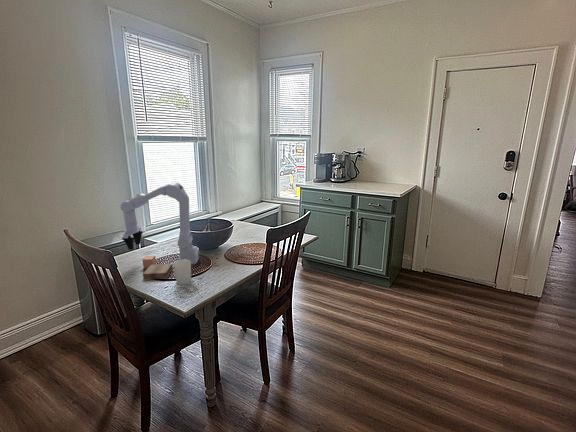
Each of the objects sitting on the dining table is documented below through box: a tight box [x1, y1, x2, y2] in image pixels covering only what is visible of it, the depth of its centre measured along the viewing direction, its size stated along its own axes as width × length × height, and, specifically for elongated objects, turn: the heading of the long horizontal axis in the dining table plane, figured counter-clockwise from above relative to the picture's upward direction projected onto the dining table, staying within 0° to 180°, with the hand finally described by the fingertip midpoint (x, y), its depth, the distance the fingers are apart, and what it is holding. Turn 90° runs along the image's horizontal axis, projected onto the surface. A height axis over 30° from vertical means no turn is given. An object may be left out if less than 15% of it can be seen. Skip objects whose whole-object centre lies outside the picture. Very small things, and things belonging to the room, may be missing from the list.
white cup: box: [172, 259, 192, 286], centre depth 151 cm, size 8×8×10 cm
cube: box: [142, 255, 157, 269], centre depth 170 cm, size 5×5×5 cm
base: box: [142, 263, 174, 280], centre depth 161 cm, size 11×11×3 cm
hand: (134, 246), depth 172 cm, fingers open, 7 cm apart
